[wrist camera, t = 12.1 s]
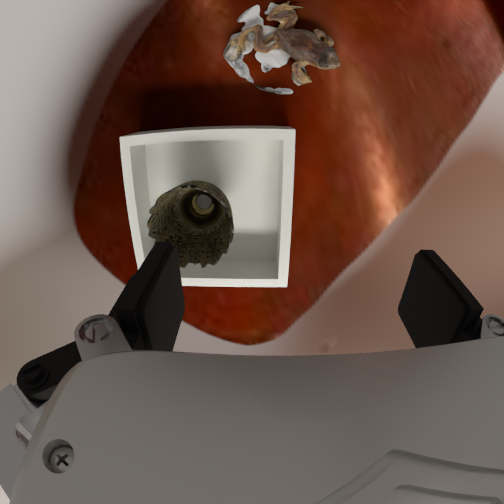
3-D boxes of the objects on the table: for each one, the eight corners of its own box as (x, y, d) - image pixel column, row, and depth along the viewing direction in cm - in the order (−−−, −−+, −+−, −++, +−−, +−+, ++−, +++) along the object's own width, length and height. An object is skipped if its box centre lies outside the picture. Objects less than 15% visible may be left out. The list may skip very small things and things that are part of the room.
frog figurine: (358, 29, 23) (371, 21, 20) (310, 115, 28) (318, 116, 25) (262, -17, 21) (262, -31, 18) (211, 69, 26) (205, 64, 23)
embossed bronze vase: (171, 231, 33) (149, 266, 26) (170, 166, 29) (143, 186, 22) (236, 235, 33) (231, 273, 26) (241, 169, 30) (236, 190, 22)
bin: (138, 132, 29) (119, 137, 24) (289, 126, 28) (295, 129, 24) (153, 262, 36) (141, 284, 31) (283, 263, 36) (287, 287, 31)
